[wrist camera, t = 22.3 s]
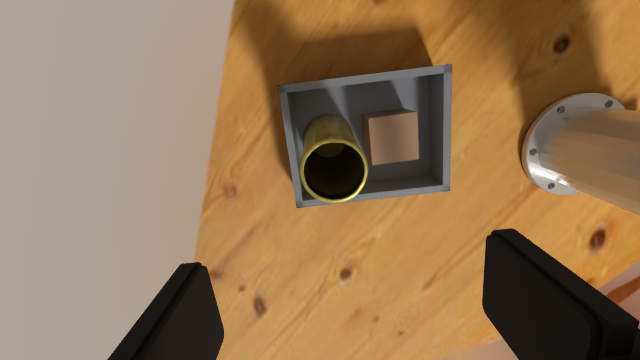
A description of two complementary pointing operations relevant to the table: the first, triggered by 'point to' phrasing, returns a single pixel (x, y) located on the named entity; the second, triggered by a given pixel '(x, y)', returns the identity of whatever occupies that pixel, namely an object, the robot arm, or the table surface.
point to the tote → (367, 97)
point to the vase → (332, 160)
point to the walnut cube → (390, 136)
